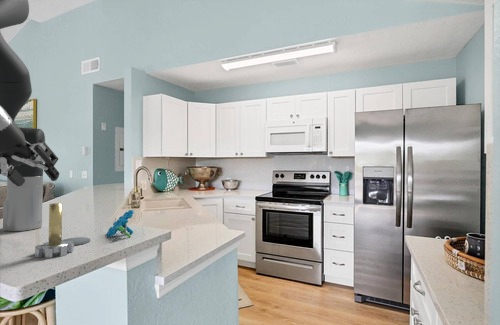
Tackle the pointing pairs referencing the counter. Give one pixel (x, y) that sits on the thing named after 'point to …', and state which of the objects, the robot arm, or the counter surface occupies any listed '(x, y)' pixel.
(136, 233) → the counter surface
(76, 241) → the pad
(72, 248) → the gear
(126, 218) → the blue splat disc
